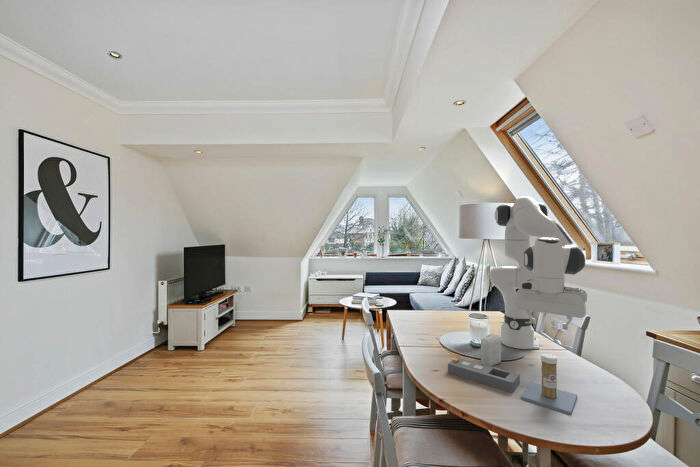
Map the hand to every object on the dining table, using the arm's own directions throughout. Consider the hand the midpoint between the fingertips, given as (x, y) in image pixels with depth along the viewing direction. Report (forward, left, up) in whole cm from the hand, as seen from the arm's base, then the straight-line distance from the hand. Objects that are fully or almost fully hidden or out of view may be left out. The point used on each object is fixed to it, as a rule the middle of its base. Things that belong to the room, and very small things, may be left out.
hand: (548, 326), depth 106 cm
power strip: (0, -22, -24) cm, 33 cm away
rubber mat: (0, 0, -24) cm, 24 cm away
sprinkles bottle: (0, 0, -24) cm, 24 cm away
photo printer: (-16, -24, -25) cm, 38 cm away
